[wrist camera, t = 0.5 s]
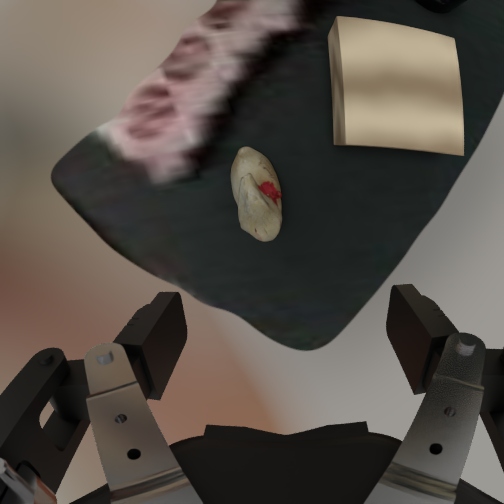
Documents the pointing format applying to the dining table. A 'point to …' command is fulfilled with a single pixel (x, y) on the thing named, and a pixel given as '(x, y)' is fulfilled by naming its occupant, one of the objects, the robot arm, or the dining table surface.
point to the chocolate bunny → (256, 194)
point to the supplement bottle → (441, 4)
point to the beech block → (395, 87)
